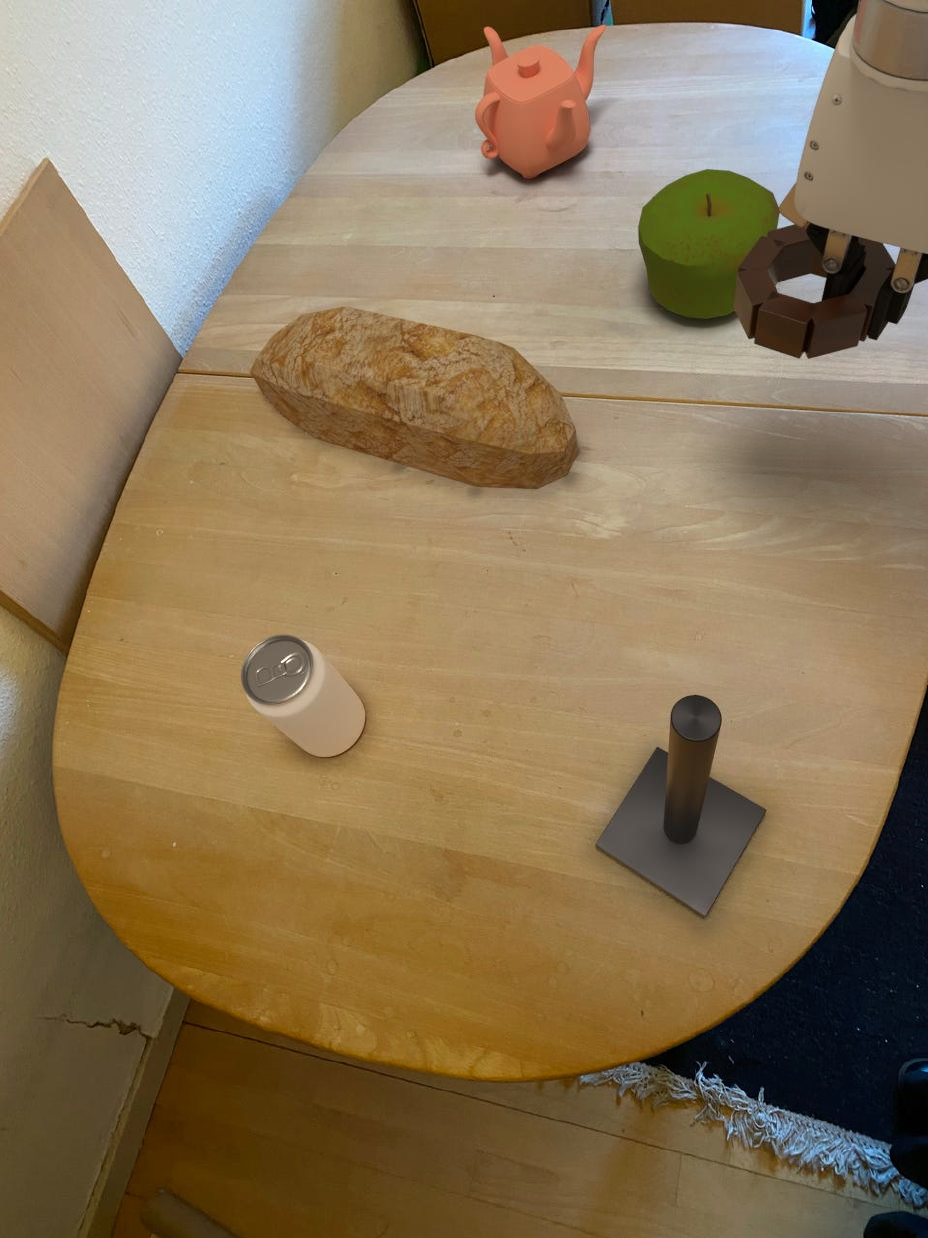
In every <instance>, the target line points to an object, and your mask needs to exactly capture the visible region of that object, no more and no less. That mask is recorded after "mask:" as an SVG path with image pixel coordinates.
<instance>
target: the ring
mask: <svg viewBox="0 0 928 1238" xmlns="http://www.w3.org/2000/svg"><path fill="white" fill-rule="evenodd" d="M859 244H861V245H865V250H864V251H866V252H867V253H866V257H865V261H864V265H863V267H862V271H861V275H860V278H859V280H858V281H857V283H856V284H855V286H854V287H853V289H852V290H851V292H850V293H849V294H846V295H842V296H838V297H834V298H831V299H827V300H823V301H821V300H820V301H815V302H810V301H807V300H804V299H800V298H797V297H794V296H790V295H787V294H784V293H780V292H779V291H778V289H777V287H776V286H777V285H778V283H781V282H784V281H789V280H793V279H797V278H801V277H804V276H808V275H814V276H817V277H821V278H823V279H826V277H827V273H828V272H826V271H825V270H824V269H823V267H822V260H823V256H822V255H821V253H820V252H819V251H818V249H817V248H816V247H815V245H814V244H813V242H812V241H811V240H810V238H809V237H808V235H807V233H806V230H805V229H804V228H803V229H801V228H799V227H798V226H797V225H795V224H794V223H792V224H790V225H786V226H783V227H779V228H777V229H775V230H772V231H768V233H767V237H765V236H761V237H760V238H759V240H758V241H757V242H756V244H755V245H754V246H753V248H752V249H751V250H750V252H749V253H748V254H747V256H746V257H745V259H744V260H743V261H742V263H741V264H740V265H739V267H738V273H737V282H736V292H735V301H734V309H735V311H734V312H735V313H736V315H737V317H738V318H737V319H738V320H739V322H740V324H741V326H742V329H743V331H744V333H745V335H746V338H747V340H753V339H754V341H753V345H756V346H760V347H761V348H765V349H768V350H771V351H774V352H777V353H781V354H784V355H786V356H790V357H792V358H796V359H801V358H802V356H803V355H804V354H805V356H806V358H807V359H808V360H810V359H815V358H818V357H821V356H826V355H830V354H834V353H838V352H840V351H844V350H848V349H852V348H856V347H858V346H859V343H860V342H863V343H864V342H865V341H867V339H868V335H867V333H868V329H869V326H870V322H871V319H872V316H873V312H874V309H875V302H876V298H877V295H878V292H879V290H880V288H881V286H882V285H883V283H884V282H885V280H886V279H887V277H888V276H889V274H890V273H891V271H892V270H893V268H894V267H895V265H896V262H895V261H894V260H893V257H892V256H891V254H890V253H889V251H888V249H887V248H886V245H885V244H884V243H880V242H877V241H873V240H869V239H865V238H861V240H860V242H859Z"/></svg>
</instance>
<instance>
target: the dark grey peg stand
mask: <svg viewBox="0 0 928 1238" xmlns="http://www.w3.org/2000/svg"><path fill="white" fill-rule="evenodd" d="M669 719H670V720H669V735H668V749H667V751H666V750H665V749H663V748H661V747H659V746H657V747H655V749H654V751H653V752H652V754H651V755H650V757H649V759H648V761H646V764H645V765H644V767H643V768H642V769H641V771H640V773H639V774H638V776H637V778H636V779H635V781H634V783H633V784H632V785H631V787H630V789H629V791H628V792H627V794H626V795H625V797H624V799H623V800H622V802H621V803H620V805H619V806H618V808H617V810H616V811H615V812H614V814H613V815H612V818H611V819H610V821H609V822H608V824H607V825H606V827H605V829H604V830H603V831H602V833H601V835H600V836H599V838H598V839H597V841H596V843H595V848H596V849H597V851H600V852H601V853H602V854H604V855H606V856H607V857H609V858H610V859H612V860H614V862H616V863H618V864H620V865H621V866H623V867H624V868H625V869H627V870H628V871H630V872H632V873H633V874H635V875H636V876H638V877H639V878H641V879H642V880H644V881H646V882H647V883H649V884H650V885H652V886H653V887H654V888H656V889H658V890H659V891H660V892H662V893H663V894H665V895H667V896H668V897H670V898H671V899H673V900H674V901H676V902H677V903H679V904H680V905H682V906H684V907H685V908H686V909H688V910H690V912H693V913H694V914H696V915H698V916H699V917H700V918H701V919H704V920H705V919H706V917H707V916H708V914H709V912H710V911H711V910H712V907H713V906H714V903H715V902H716V900H717V898H718V897H719V896H720V893H721V892H722V890H723V888H724V886H725V884H726V883H727V881H728V879H729V877H730V876H731V874H732V873H733V870H734V869H735V867H736V865H737V864H738V862H739V860H740V858H741V857H742V855H743V853H744V851H745V850H746V848H747V846H748V844H749V842H750V841H751V839H752V838H753V835H754V834H755V832H756V830H757V829H758V828H759V825H760V823H761V821H762V820H763V817H764V816H765V815H766V814H767V811H768V810H767V809H766V808H765V807H763V806H762V805H759V804H758V803H756V802H754V801H752V800H751V799H749V798H748V797H746V796H745V795H743V794H740V793H739V792H737V791H735V790H734V789H732V788H730V787H728V786H727V785H725V784H723V783H721V782H720V781H718V780H717V779H715V778H712V777H711V771H712V767H713V763H714V759H715V754H716V750H717V745H718V741H719V736H720V733H721V728H722V724H723V717H722V713H721V710H720V708H719V707H718V705H717V704H716V703H715V702H714V701H713V700H712V699H710V698H708V697H707V696H704V695H700V694H690V695H686V696H684V697H681V698H680V699H679V700H677V701H676V702H675V703H674V705H673V706H672V708H671V712H670V717H669Z"/></svg>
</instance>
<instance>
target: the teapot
mask: <svg viewBox="0 0 928 1238" xmlns="http://www.w3.org/2000/svg"><path fill="white" fill-rule="evenodd" d="M606 29H607V25H606V24H601V25H599V26H597V27H596V28H594V29H593V30H591V32H589V34H587V36H586V38H585V39H584V42H583V45H582V47H581V50H580V55H579V59H578V63H577V66H576V67H575V70H573V68H572V66H571V65H570V64H569V63H568V62H567V61H566V60H565V58H563V57H562V56H561V55H560V54H558V53H557V52H556V51H554V50H552V49H551V48H549V47H547V46H545V45H542V44H533V45H531V46H529V47H525V48H523V49H521V50H520V51H517V52H515V53H514V54H512V55H510V56H509V55H508V53H507V50H506V49H505V46H504V44H503V42H502V40H501V38H500V35H499V34H498V33H497V31H496V30H495V29H494V28H492V27H490V26H485V27H484V28H483V32H484V33H483V34H484V36H485V38H486V40H487V43H488V45H489V48H490V53H491V63H492V66H491V67H489V68H488V70H486V74H485V79H484V86H483V94H482V95H483V96H482V98H480V100H479V102H478V103H477V105H476V107H475V110H474V118H475V123H476V124H477V126H478V128H479V130H480V132H481V133H482V134H483V135H484V136H485V138H486V139H485V140H484V141H483V142H482V143H481V145H480V152H481V154H482V156H483V158H485V159H488V160H492V159H495V158H497V157H499V158H500V159H501V161H502V162H504V163H505V164H506V165H507V166H508V167H510V168H511V169H512V170H514V171H516V172H517V173H519V174H521V176H522V177H523V179H524V178H525V179H529V180H530V179H534V178H536V177H538V176H539V175H540V174H541V173H544V172H546V171H548V170H550V169H552V168H555V167H557V166H558V165H560V164H562V163H564V162H566V161H568V160H569V159H572V158H574V157H576V156H577V155H578V154H579V153H581V152H582V151H583V150H584V149H585V148H586V147H587V144H588V142H589V139H590V136H591V131H592V130H591V129H592V128H591V118H590V114H589V109H588V104H587V100H588V98H589V96H590V94H591V91H592V88H593V84H594V73H595V52H596V47H597V45H598V42H599V40H600V38H601V37H602V35H603V34H604V32H605V31H606ZM489 147H490V148H489ZM488 148H489V149H488Z"/></svg>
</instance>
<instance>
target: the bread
mask: <svg viewBox="0 0 928 1238" xmlns="http://www.w3.org/2000/svg"><path fill="white" fill-rule="evenodd" d="M249 373H250V374H251V376H252V378H253V380H254V381H255V383H256V385H257V386H258V388H259V389H260V391H261V394H262V395H263V396H265V398H266V399H267V400H268V402H270V403H271V404H272V406H273V407H274V408H276V410H277V411H278V412H279V413H280V414H281V415H282V416H283V417H284V418H285V419H287V420H288V421H289V422H291V423H293V424H294V425H295V426H297V427H299V428H300V429H302V430H303V431H304V432H306V433H308V434H309V435H310V436H311V437H312V438H315V439H317V440H320V441H323V442H326V443H327V442H328V443H331V444H333V445H337V446H341V447H344V448H347V449H350V450H353V451H357V452H361V453H364V454H368V455H371V456H374V457H378V458H380V459H384V460H388V461H390V462H395V463H398V464H401V465H404V466H407V467H411V468H414V469H418V470H420V471H424V472H428V473H431V474H433V475H438V476H442V477H444V478H448V479H451V480H455V481H458V482H461V483H465V484H468V485H472V486H475V487H483V488H508V489H509V488H510V489H532V490H533V489H536V490H537V489H540V488H542V487H544V486H546V485H548V484H550V483H552V482H554V481H556V480H558V479H561V478H564V477H565V476H567V475H568V474H569V471H570V470H571V467H572V466H573V464H574V462H575V460H576V458H577V456H578V454H579V447H578V439H577V431H576V426H575V424H574V422H573V419H572V416H571V415H570V412H569V409H568V407H567V405H566V402H565V400H564V398H563V395H562V393H561V392H560V391H559V390H557V388H555V386H554V385H553V384H552V383H550V382H549V380H547V378H545V377H544V376H543V374H541V373H540V372H539V371H538V370H537V369H536V368H535V367H534V366H533V365H532V363H530V362H529V361H528V360H527V359H526V358H525V356H523V355H522V354H521V353H520V352H519V351H518V350H517V349H516V348H515V347H513V346H511V345H508V344H505V343H502V342H501V341H497V340H494V339H490V338H487V337H483V336H479V335H476V334H472V333H467V332H463V331H458V330H454V329H450V328H445V327H441V326H436V325H432V324H426V323H423V322H419V321H413V320H409V319H405V318H400V317H396V316H391V315H387V314H384V313H383V314H382V313H378V312H374V311H369V310H364V309H360V308H356V307H353V306H352V307H351V306H339V307H334V308H329V309H324V310H318V311H312V312H309V313H303V314H301V315H299V316H298V317H296V318H295V319H293V320H292V321H291V322H289V323H288V324H287V325H285V326H284V327H282V328H280V329H279V330H278V331H276V332H275V333H274V334H273V335H271V337H270V338H269V339H268V341H267V342H266V343H265V345H264V347H263V348H262V349H261V351H260V352H259V353H258V355H257V356H256V358H255V359H254V362H253V363H252V366H251V368H250V369H249Z"/></svg>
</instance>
